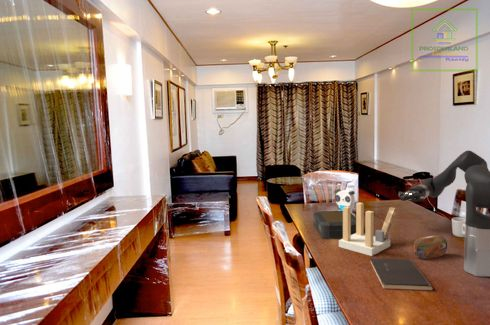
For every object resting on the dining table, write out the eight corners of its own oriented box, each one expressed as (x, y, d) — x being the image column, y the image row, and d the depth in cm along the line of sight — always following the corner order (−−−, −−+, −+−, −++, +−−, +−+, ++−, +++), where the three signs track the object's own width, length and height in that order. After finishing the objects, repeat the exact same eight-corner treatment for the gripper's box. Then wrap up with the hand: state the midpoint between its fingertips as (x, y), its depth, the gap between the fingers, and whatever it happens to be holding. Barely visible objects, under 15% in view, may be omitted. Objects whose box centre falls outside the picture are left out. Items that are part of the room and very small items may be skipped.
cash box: (364, 238, 170) (364, 222, 169) (322, 239, 170) (322, 224, 170) (349, 223, 195) (349, 210, 194) (312, 224, 195) (312, 211, 194)
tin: (417, 260, 142) (417, 240, 141) (411, 257, 145) (411, 237, 144) (447, 255, 146) (448, 235, 145) (441, 252, 149) (442, 233, 148)
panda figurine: (330, 215, 213) (330, 190, 211) (341, 211, 220) (341, 187, 219) (348, 218, 204) (348, 193, 202) (358, 214, 211) (358, 190, 210)
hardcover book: (382, 290, 119) (382, 283, 119) (369, 263, 142) (369, 257, 142) (433, 292, 117) (433, 285, 117) (411, 264, 139) (412, 258, 139)
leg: (386, 239, 158) (396, 210, 163) (384, 237, 156) (394, 207, 161) (381, 238, 160) (391, 209, 165) (379, 236, 158) (389, 207, 163)
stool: (392, 245, 159) (392, 206, 157) (371, 256, 148) (372, 213, 146) (359, 237, 171) (360, 200, 169) (338, 246, 160) (338, 207, 158)
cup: (476, 240, 161) (477, 223, 160) (457, 240, 163) (457, 223, 162) (466, 233, 172) (467, 217, 171) (448, 233, 173) (449, 217, 172)
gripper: (405, 183, 185) (389, 189, 173) (432, 187, 175) (417, 192, 163) (405, 198, 186) (389, 204, 174) (432, 201, 176) (416, 208, 164)
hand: (402, 198), depth 169 cm, fingers closed
